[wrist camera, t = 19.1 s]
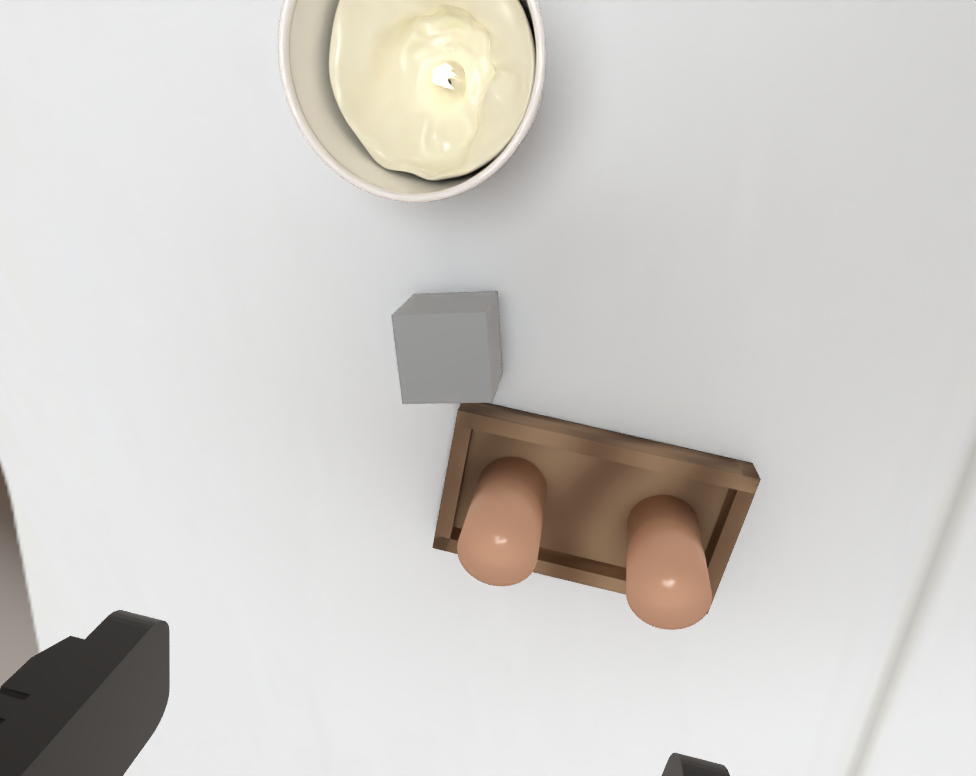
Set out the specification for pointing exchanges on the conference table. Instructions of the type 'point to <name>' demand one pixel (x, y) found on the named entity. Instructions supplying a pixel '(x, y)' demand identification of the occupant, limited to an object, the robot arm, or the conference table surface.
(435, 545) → the tray
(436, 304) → the grey block
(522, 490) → the clay cylinder
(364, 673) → the conference table surface
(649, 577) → the clay cylinder
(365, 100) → the candle holder
